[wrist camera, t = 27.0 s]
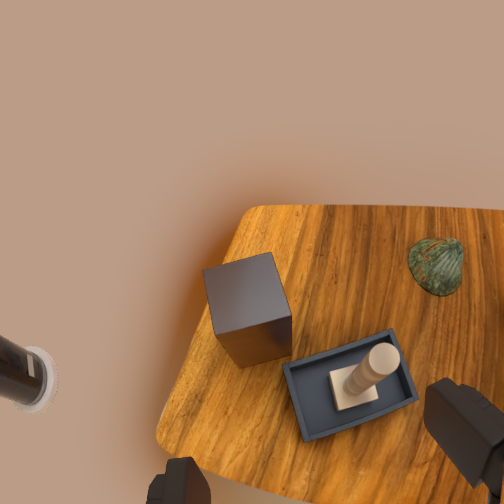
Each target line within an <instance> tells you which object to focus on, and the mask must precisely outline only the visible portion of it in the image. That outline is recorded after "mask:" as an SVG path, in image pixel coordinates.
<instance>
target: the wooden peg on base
mask: <svg viewBox="0 0 504 504" xmlns="http://www.w3.org/2000/svg"><path fill="white" fill-rule="evenodd" d="M399 363H400V355H399V352H398V350H397V349H396V348H395V347H394V346H393V345H391V344H389V343H380V344H377V345H376V346H374V347H373V348H372V349H371V351H370V352H369V353H368V354H367V355H366V356H365V358H364V359H363V360H362V361H361V362H360V363H359V364H356V365H352V366H349V367H345V368H342V369H338V370H334V371H330V372H329V374H328V375H327V379H328V383H329V387H330V391H331V395H332V399H333V404H334V408H335V412H338V411H342V410H345V409H349V408H352V407H356V406H359V405H362V404H366V403H369V402H372V401H374V400H376V399H378V395H377V391H376V387H375V384H377V383H378V382H380V381H381V380H383V379H384V378H385V377H387V376H388V375H390V374H391V373H393V372H394V371H395V370H396V369H397V367H398V365H399Z"/></svg>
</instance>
